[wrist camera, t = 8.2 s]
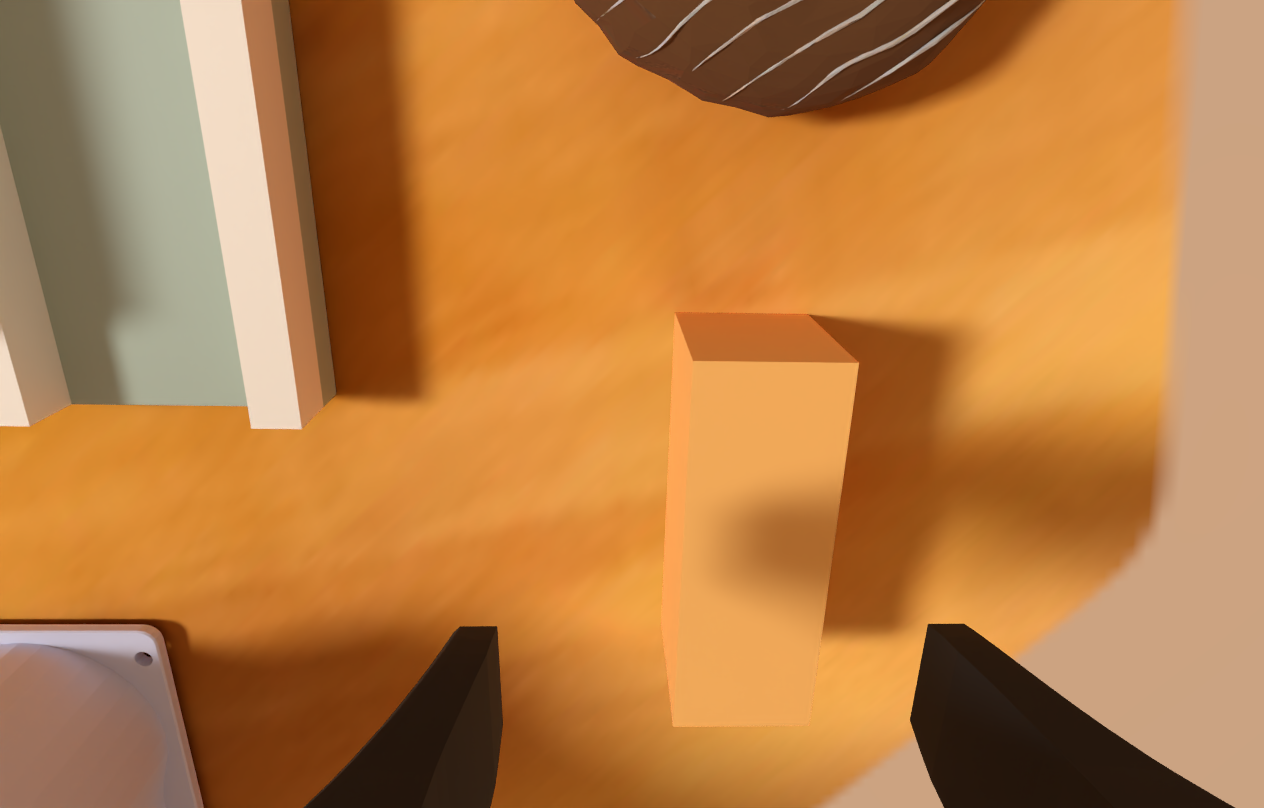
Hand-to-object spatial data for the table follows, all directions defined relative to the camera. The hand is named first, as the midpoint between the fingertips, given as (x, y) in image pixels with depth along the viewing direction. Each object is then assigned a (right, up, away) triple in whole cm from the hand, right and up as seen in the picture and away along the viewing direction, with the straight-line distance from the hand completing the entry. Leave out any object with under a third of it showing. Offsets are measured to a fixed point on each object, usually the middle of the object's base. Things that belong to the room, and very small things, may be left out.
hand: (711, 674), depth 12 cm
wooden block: (+2, +2, +10) cm, 10 cm away
